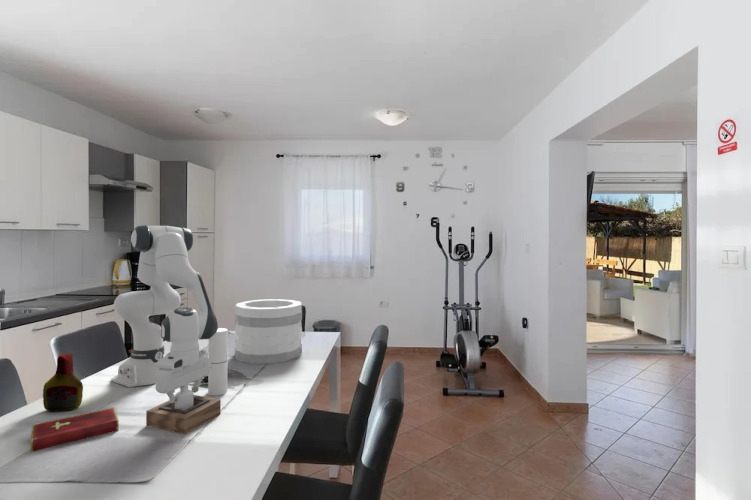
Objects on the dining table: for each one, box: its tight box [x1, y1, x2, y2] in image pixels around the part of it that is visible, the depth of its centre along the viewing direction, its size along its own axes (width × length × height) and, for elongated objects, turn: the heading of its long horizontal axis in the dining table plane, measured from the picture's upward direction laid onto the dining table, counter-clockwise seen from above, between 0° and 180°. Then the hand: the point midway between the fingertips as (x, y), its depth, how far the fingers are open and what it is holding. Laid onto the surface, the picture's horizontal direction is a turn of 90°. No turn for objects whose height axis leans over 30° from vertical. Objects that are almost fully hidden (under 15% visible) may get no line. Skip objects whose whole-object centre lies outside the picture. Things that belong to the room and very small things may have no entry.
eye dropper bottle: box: [174, 384, 194, 411], centre depth 133 cm, size 4×6×12 cm
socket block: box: [145, 394, 222, 435], centre depth 134 cm, size 16×16×6 cm
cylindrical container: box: [207, 327, 229, 396], centre depth 158 cm, size 7×7×25 cm
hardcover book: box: [30, 407, 120, 453], centre depth 123 cm, size 12×21×4 cm, turn 129°
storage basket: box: [234, 298, 303, 365], centre depth 212 cm, size 35×35×27 cm
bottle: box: [42, 352, 84, 412], centre depth 140 cm, size 12×6×20 cm, turn 97°
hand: (184, 396), depth 134 cm, fingers open, 8 cm apart
